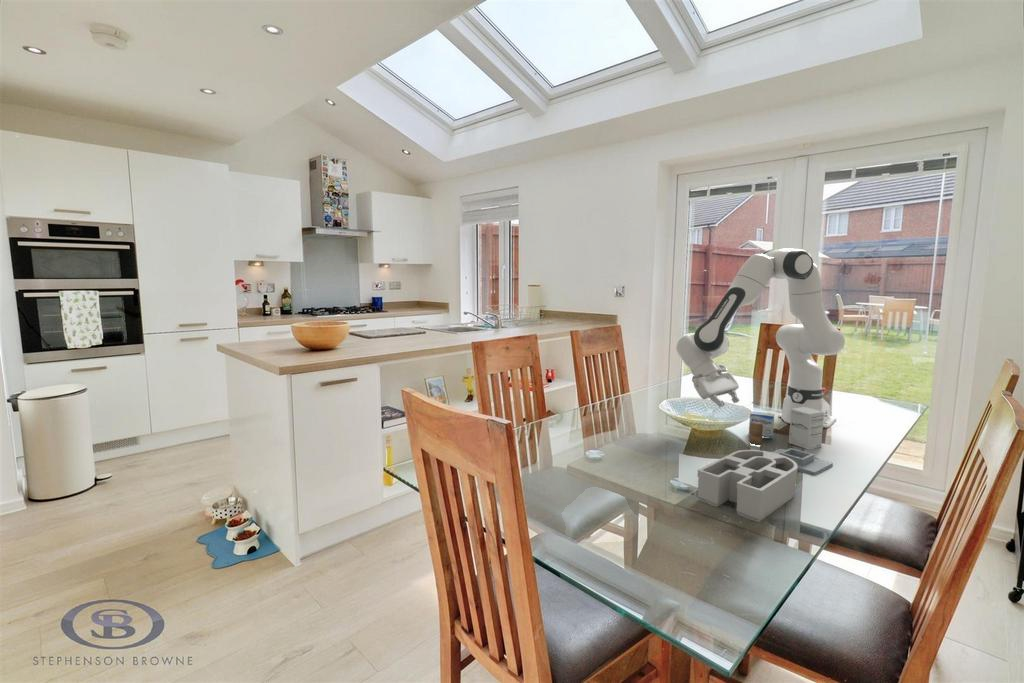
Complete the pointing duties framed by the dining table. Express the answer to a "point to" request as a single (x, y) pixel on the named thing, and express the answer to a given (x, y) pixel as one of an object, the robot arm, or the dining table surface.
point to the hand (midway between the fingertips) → (729, 404)
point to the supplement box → (806, 427)
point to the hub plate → (805, 461)
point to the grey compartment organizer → (749, 482)
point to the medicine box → (765, 419)
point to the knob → (756, 433)
